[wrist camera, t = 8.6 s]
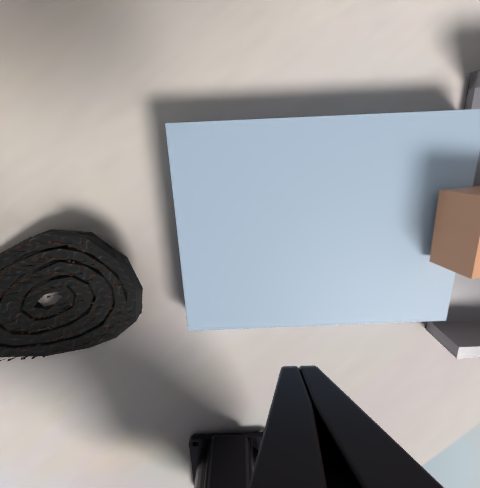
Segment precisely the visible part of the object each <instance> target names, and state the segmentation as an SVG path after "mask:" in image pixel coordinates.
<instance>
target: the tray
mask: <svg viewBox="0 0 480 488" xmlns="http://www.w3.org/2000/svg"><path fill="white" fill-rule="evenodd" d="M469 109H480V70H479V71H476V72H473V73H471V76H470V82H469V88H468V93H467V99H466V105H465V110H469ZM473 186H480V152H479V157H478V162H477V167H476V172H475V177H474V182H473ZM426 330H427V331H428V332H429V333H430V334H431V335H432V336H433V337H434V338H436V339H437V340H438V341H439V342H440V343H441V344H442V345H443V346H444V347H445V348H446V349H447V350H448V351H449V352H450V353H451V354H453V355H454V356H455V357H456V358H479V357H480V278H476V279H470V278H467V277H465V276H463V275H460V274H458V273H455V278H454V283H453V288H452V293H451V298H450V303H449V308H448V313H447V318H446V321H427V327H426Z"/></svg>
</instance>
